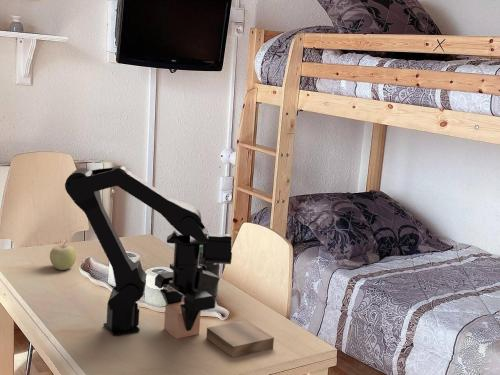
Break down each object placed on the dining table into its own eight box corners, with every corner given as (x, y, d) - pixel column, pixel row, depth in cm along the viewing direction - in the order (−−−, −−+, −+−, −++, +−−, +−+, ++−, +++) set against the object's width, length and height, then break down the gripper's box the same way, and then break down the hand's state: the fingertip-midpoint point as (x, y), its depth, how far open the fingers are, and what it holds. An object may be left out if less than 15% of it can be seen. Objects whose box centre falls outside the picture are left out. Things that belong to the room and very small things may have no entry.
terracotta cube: (176, 338, 146) (177, 313, 145) (164, 328, 151) (165, 304, 150) (198, 334, 150) (200, 309, 148) (186, 324, 154) (187, 301, 153)
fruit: (81, 268, 188) (82, 242, 186) (61, 274, 182) (62, 247, 180) (63, 262, 192) (64, 236, 190) (43, 268, 185) (44, 241, 184)
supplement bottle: (214, 299, 172) (217, 257, 169) (189, 296, 173) (192, 253, 171) (220, 291, 178) (223, 250, 176) (196, 287, 180) (199, 246, 177)
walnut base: (232, 357, 139) (233, 346, 139) (206, 337, 148) (207, 327, 147) (272, 347, 145) (273, 337, 145) (245, 329, 154) (246, 319, 154)
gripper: (237, 269, 144) (232, 334, 147) (195, 246, 159) (191, 306, 162) (194, 275, 138) (190, 343, 141) (155, 251, 153) (152, 313, 156)
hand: (181, 325), depth 150 cm, fingers closed on terracotta cube, 6 cm apart
